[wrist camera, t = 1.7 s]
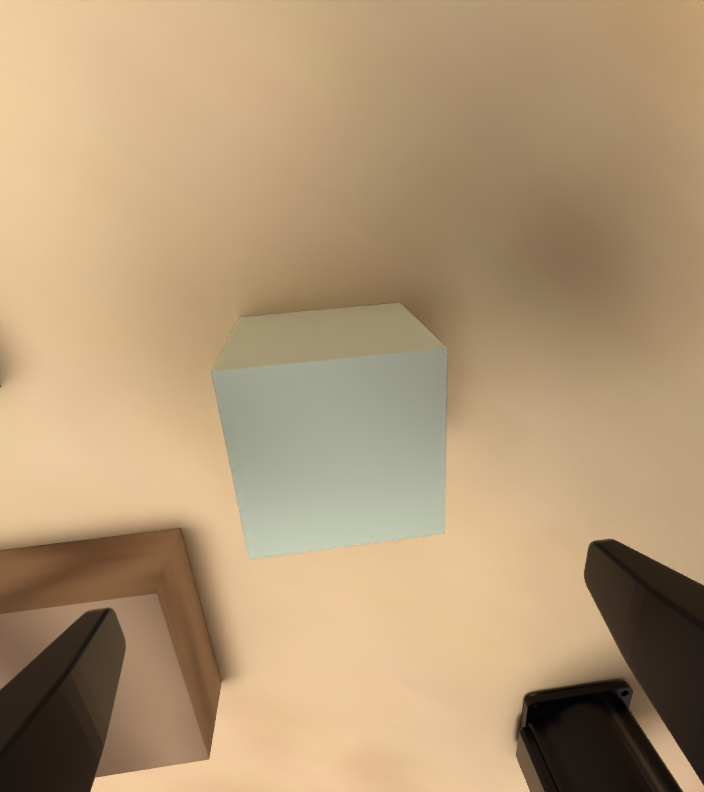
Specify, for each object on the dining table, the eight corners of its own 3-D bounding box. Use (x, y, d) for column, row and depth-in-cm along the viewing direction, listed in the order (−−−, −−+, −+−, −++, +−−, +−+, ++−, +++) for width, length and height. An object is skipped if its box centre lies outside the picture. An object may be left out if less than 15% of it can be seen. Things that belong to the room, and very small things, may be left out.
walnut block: (182, 523, 20) (156, 593, 17) (222, 675, 24) (209, 759, 21) (-56, 552, 20) (-137, 632, 16) (26, 704, 24) (-25, 796, 20)
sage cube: (399, 302, 17) (447, 347, 12) (403, 441, 20) (444, 533, 14) (238, 316, 17) (210, 371, 11) (262, 457, 19) (248, 559, 14)
